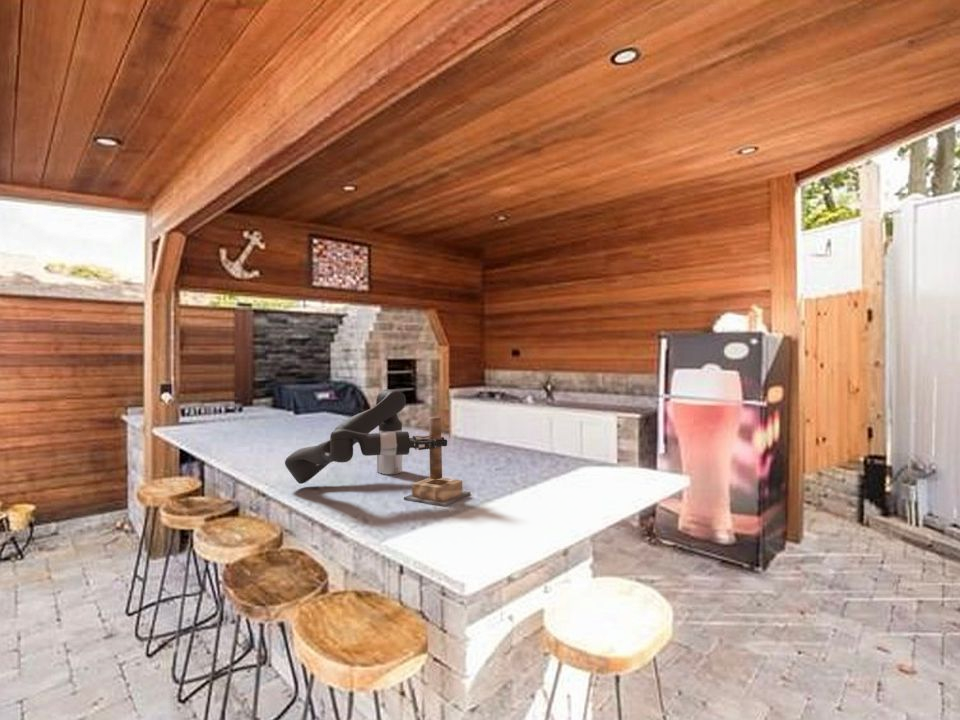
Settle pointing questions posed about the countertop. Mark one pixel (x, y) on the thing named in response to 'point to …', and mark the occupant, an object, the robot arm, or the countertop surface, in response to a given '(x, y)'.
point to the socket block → (437, 491)
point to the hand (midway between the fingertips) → (445, 441)
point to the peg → (437, 451)
